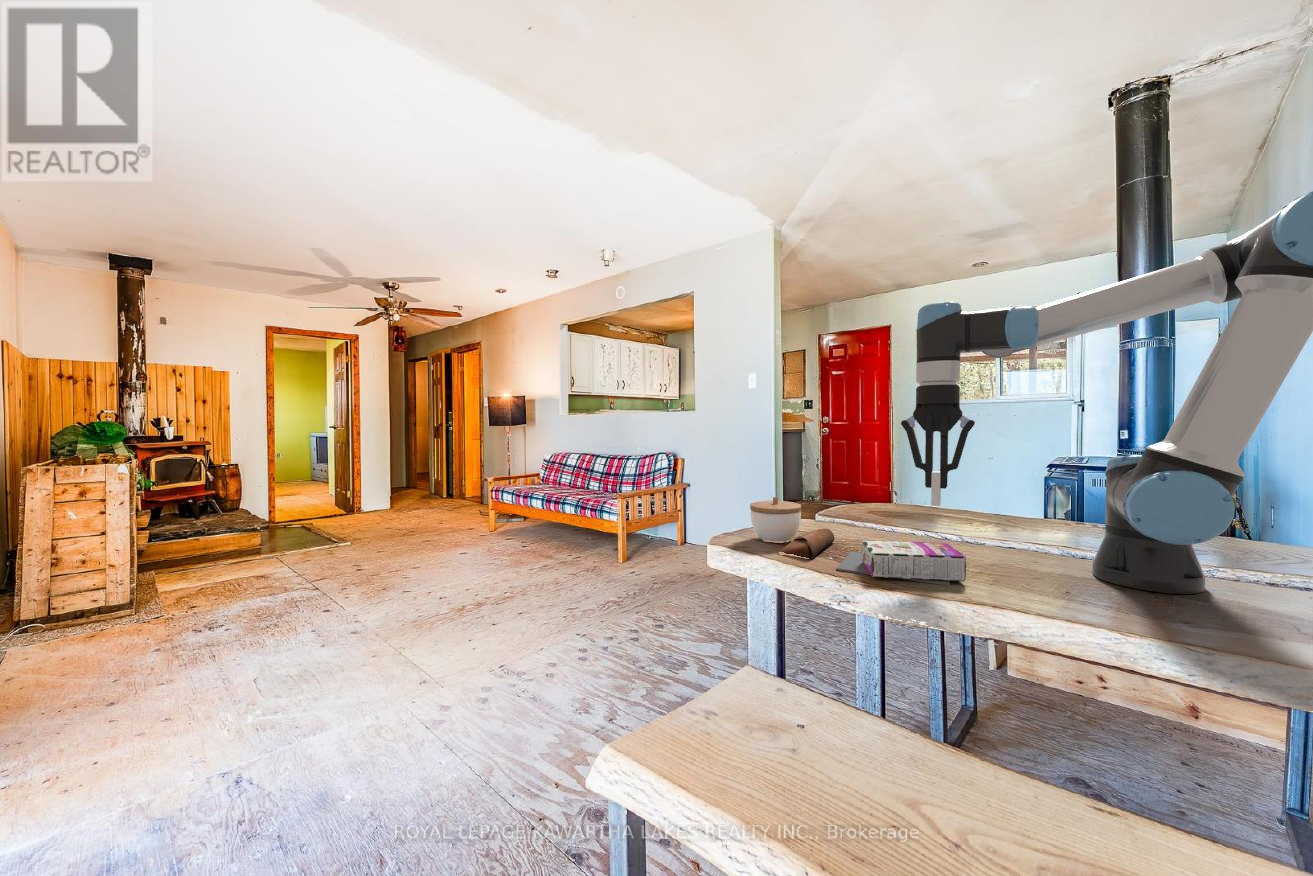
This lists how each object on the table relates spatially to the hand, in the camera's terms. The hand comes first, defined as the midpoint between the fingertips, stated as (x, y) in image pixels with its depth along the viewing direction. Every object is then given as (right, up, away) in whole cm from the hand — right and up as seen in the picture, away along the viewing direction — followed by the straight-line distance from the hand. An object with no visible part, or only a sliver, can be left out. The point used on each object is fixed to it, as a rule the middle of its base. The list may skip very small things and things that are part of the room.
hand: (935, 504), depth 103 cm
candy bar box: (+3, -11, -2) cm, 11 cm away
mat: (-6, -14, +4) cm, 15 cm away
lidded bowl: (-25, -13, +29) cm, 41 cm away
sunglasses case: (-19, -14, +21) cm, 31 cm away
